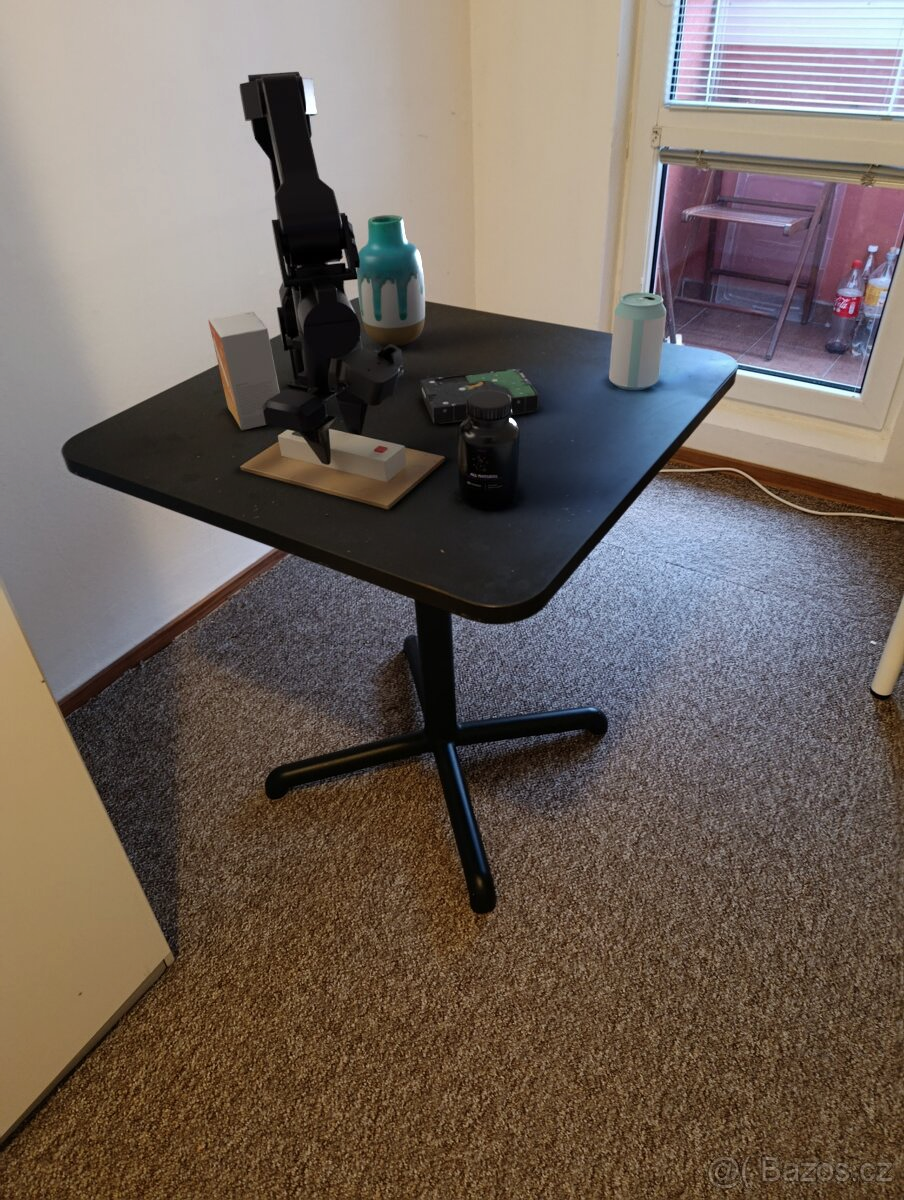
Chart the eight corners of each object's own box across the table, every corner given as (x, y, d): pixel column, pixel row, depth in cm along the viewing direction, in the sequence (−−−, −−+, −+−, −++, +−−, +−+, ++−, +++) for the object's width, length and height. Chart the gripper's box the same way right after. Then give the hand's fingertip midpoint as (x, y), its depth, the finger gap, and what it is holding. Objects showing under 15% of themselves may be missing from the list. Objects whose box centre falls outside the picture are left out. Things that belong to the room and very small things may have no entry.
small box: (227, 409, 115) (206, 318, 107) (270, 400, 117) (253, 310, 109) (240, 431, 110) (219, 336, 102) (285, 421, 111) (268, 327, 104)
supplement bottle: (474, 517, 89) (471, 417, 82) (450, 490, 94) (445, 393, 87) (529, 503, 91) (531, 404, 84) (502, 477, 97) (502, 381, 89)
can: (611, 371, 121) (618, 289, 113) (659, 374, 119) (669, 291, 112) (605, 390, 115) (612, 305, 108) (656, 393, 114) (666, 307, 106)
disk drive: (434, 428, 108) (540, 412, 110) (432, 408, 107) (540, 393, 109) (420, 397, 116) (519, 383, 118) (418, 379, 115) (519, 365, 117)
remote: (281, 455, 102) (277, 434, 100) (302, 441, 105) (298, 420, 103) (387, 482, 95) (384, 459, 94) (406, 466, 98) (404, 444, 97)
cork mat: (240, 470, 101) (239, 466, 100) (304, 428, 109) (304, 424, 109) (388, 509, 92) (388, 505, 91) (445, 460, 100) (444, 456, 100)
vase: (363, 334, 138) (350, 213, 126) (424, 329, 138) (417, 208, 127) (364, 357, 129) (350, 229, 118) (430, 352, 130) (422, 224, 118)
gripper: (332, 367, 80) (351, 502, 90) (428, 310, 93) (435, 434, 102) (247, 351, 85) (273, 481, 94) (349, 299, 98) (363, 418, 107)
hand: (341, 453), depth 99 cm, fingers open, 6 cm apart
